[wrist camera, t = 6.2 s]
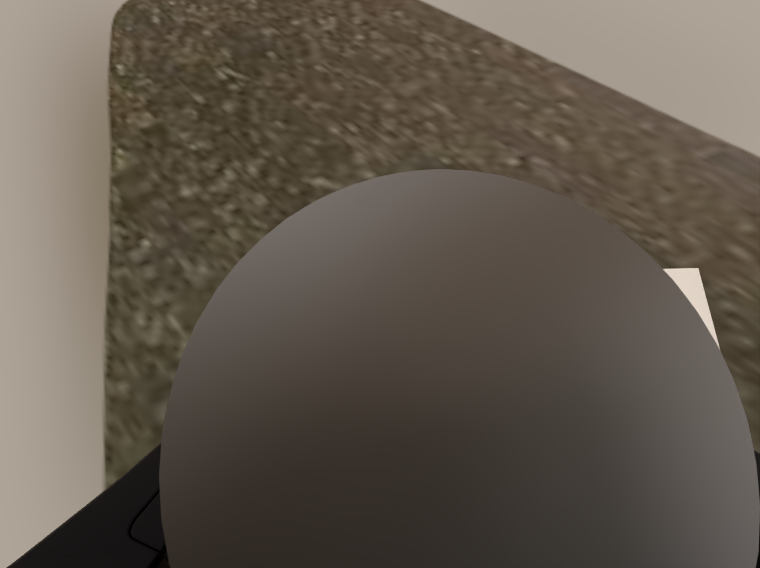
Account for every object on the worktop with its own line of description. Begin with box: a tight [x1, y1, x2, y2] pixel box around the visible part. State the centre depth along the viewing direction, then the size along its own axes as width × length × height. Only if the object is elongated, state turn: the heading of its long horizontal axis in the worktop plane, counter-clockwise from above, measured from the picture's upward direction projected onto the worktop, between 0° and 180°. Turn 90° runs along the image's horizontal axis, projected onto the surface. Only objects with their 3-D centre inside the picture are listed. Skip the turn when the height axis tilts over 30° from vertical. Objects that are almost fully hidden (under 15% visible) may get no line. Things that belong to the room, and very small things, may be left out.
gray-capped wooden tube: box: [159, 169, 760, 568], centre depth 9 cm, size 5×5×12 cm
